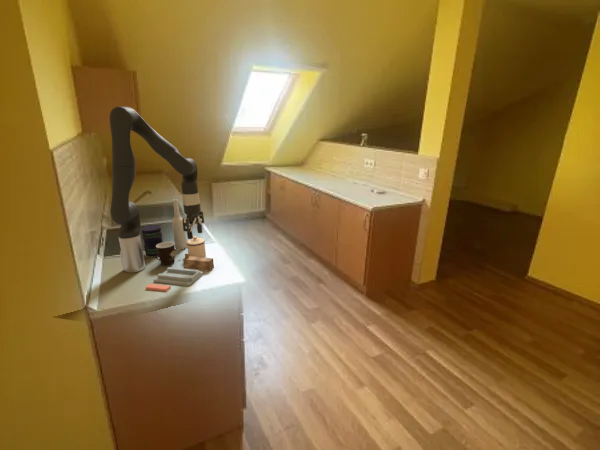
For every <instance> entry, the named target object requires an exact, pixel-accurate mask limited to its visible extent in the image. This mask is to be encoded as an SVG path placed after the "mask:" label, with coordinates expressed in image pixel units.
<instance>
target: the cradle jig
mask: <svg viewBox="0 0 600 450" xmlns="http://www.w3.org/2000/svg"><path fill="white" fill-rule="evenodd" d="M204 274H205V273H204V271H201V270H197V269H188V268H184V267H183V268H182V267H173V266H167V268H166V270H165V271H163V272H162V273H158V274H157V275H156V277H155V278H153V282H154V283H161V284H168V285H169V284H170V285H178V286H186V287H191V286H192V285H193V284H194V283H195V282H196V281H197V280H198V279H200V278H202V276H204Z"/></svg>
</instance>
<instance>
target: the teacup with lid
mask: <svg viewBox="0 0 600 450" xmlns="http://www.w3.org/2000/svg"><path fill="white" fill-rule="evenodd" d="M205 241H206V240H205V239H204V238H200V237H198V236H196V235H193V239H187V244H186V246H187V248H186V249H187V251H188V252H187V254H189V256H193V257H203V258H207V257H206V256H207V255H206V253H207V252H206V245H205V244H206V243H205Z"/></svg>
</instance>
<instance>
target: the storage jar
mask: <svg viewBox="0 0 600 450" xmlns="http://www.w3.org/2000/svg"><path fill="white" fill-rule="evenodd" d="M140 231H141V235H142V236H141V239H143V244H144V245H143V247H144V249H143V251H144V254H145V257H147V258H156V257H155V255H156V253H157V248H156V245H157V244H159V243H163V242H164V241H163V231H162V225H159V224H149V225H146V226H143V227H141V228H140ZM157 257H159V255H158V253H157Z"/></svg>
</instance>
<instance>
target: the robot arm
mask: <svg viewBox="0 0 600 450" xmlns="http://www.w3.org/2000/svg"><path fill="white" fill-rule="evenodd" d="M109 125H110V127H109V128H110V134H111V173H112V175H111V180H112V181H111V189H112V190H111V191H112V192H111V201H110V210H109V213H110V217H111V219H112V221H113V222H114V223H115V224H116V225H120V228H119V229H118V231H117V237H118V242H119V246H120V251H119V256H120V262H121V266H122V270H123V271H124V272H126V273H137V272H138V273H139V272H141V271H142V270H145V268H146V267H147V266H146V262H145V253H144V249H143V243H142V236H141V228H142V227H141V225H142V224H141V217H140V212H139V211H140V210H139V207H138V205H137V204H136V203H135V202H134V201H130V194H131V190H132V187H133V185H134V182H135V178H136V174H137V173H136V171H137V169H136V167H137V163H136V157H135V154H134V152H133V149H132V145H131V132H134V133H135V134H137V135H139V136H140V137H141V138H142V139H143V140H144V141H145V142H146V143H147V144H148V146H150V148H151V150H153V151H154V152H155V153H156V154H157V155H159V157H161V158H162V159H164V160H165V161H167V163H169V165H170V166H171V167H172V168H173V169H174V170H175V171H176V172H177V173H178V174H180V175H181V176H182V181H181V184H180V186H181V188H180V189H181V195H182V197H181V199H182V205H183V207H182V208H183V212H184V215H186V218H182V221H183V231H185V232H186V237H187V240H190V239H193V237H194V235H193V231H192V230H193V228H195V225H196V229H197V230H196V231H197V233H198V234H203V224H204V223H205V217H204V212H203V211H202V210H201V209H202V208H201V202H200V201H201V200H200V195H199V194H200V193H199V187H198V165H197V162H196V161H195V160H194V159H193V158H190V157H189V158H188V157H187V158H186V157H185V156H183V155H182V154H181V153H180V150H179V149H178V148H177V147H176V146H174V145H173V144H172V143H171V142H169V140H167V139H166V138H164V137H163V136H162V135H161V134H159V133H158V131H156V130H155V129H154V128H153V127H152V126H150V125H149V124H148V122H147V121H146V120H145V119H144V118H143V117H142V116H141V115H140V114H139V113H138V112H137V111H136V110H135V109H134V108H132V107H130V106H121V105H120V106H115V107H113V108H112V109H111V110H110V112H109Z"/></svg>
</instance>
